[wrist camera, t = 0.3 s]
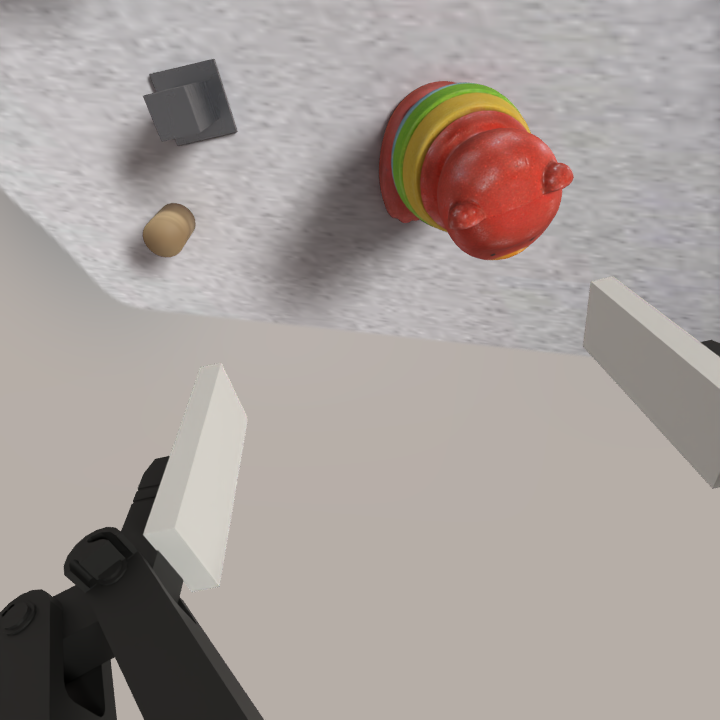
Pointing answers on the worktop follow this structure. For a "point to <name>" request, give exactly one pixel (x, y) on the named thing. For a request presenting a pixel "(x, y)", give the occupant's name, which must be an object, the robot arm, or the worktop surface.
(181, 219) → the oak stub
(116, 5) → the worktop surface
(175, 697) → the robot arm
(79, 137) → the worktop surface
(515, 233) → the stacking bear
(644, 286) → the worktop surface
